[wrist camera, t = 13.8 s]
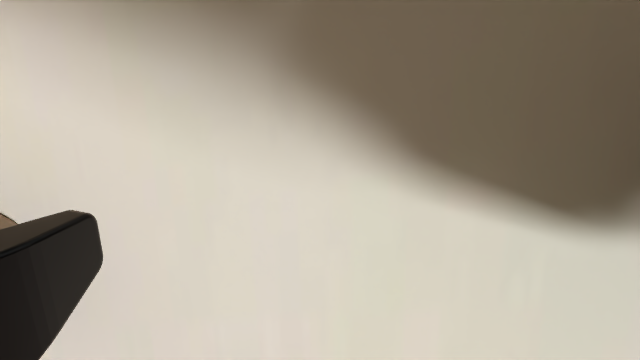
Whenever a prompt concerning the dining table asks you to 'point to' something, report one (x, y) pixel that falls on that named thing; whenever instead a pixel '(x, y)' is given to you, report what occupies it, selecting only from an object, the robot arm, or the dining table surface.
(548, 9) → the dining table surface
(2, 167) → the dining table surface
